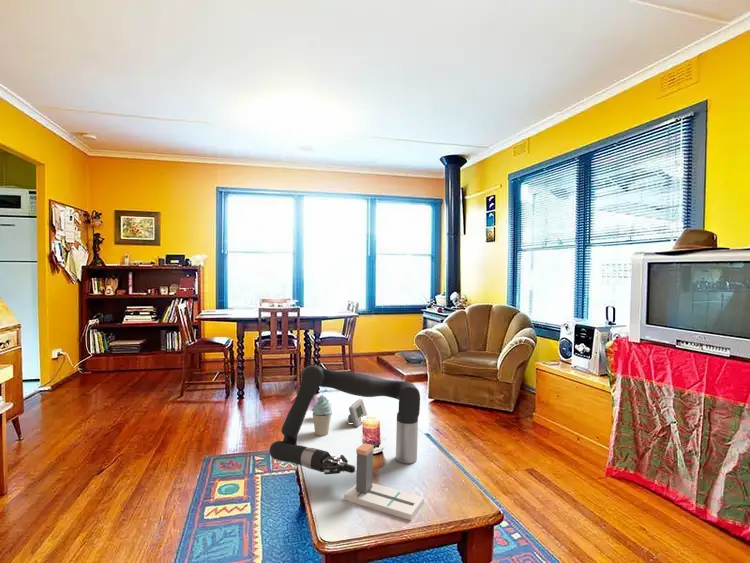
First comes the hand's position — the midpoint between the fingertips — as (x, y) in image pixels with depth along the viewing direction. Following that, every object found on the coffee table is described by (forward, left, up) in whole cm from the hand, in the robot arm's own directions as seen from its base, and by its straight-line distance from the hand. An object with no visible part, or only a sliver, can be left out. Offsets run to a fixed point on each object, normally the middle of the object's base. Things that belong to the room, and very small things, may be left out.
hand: (354, 469), depth 159 cm
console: (0, +13, -9) cm, 15 cm away
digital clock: (-63, -33, -9) cm, 71 cm away
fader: (0, +5, -6) cm, 8 cm away
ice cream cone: (-40, -41, -9) cm, 58 cm away
